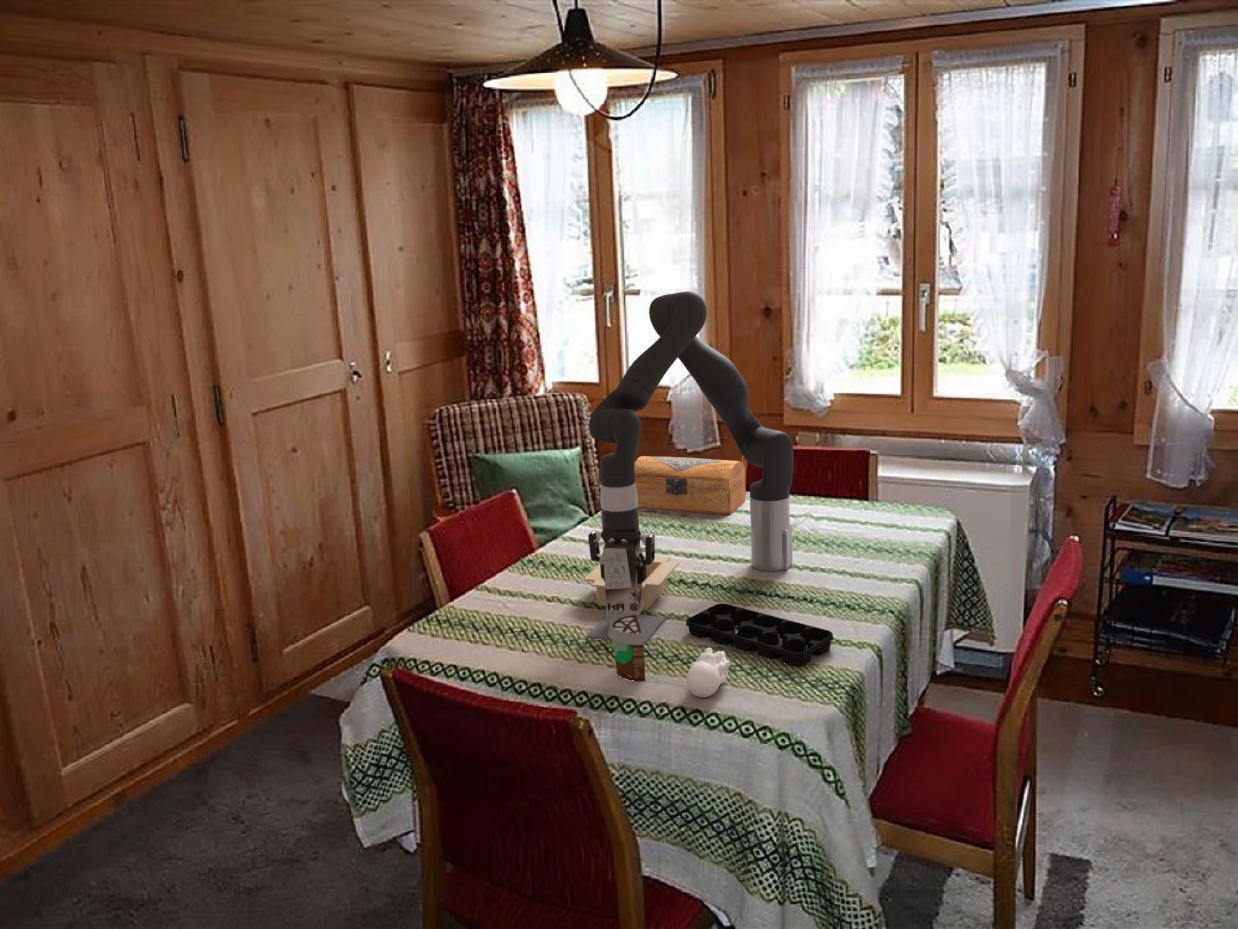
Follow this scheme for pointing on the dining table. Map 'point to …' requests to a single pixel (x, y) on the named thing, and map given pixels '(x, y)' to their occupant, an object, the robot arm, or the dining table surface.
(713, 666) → the figurine
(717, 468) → the wooden box
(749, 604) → the dining table surface
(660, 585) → the carton
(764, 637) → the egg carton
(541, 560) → the dining table surface
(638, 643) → the food container
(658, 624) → the rubber mat
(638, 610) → the coffee box
